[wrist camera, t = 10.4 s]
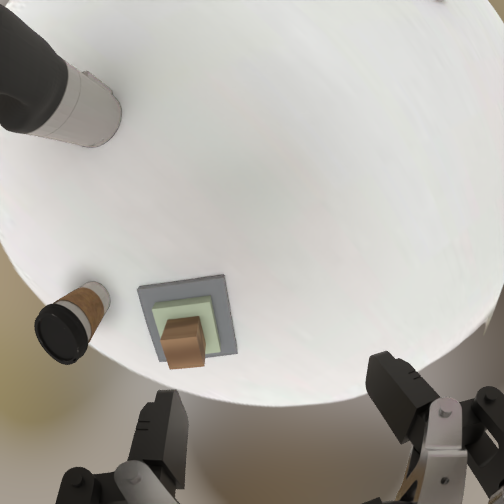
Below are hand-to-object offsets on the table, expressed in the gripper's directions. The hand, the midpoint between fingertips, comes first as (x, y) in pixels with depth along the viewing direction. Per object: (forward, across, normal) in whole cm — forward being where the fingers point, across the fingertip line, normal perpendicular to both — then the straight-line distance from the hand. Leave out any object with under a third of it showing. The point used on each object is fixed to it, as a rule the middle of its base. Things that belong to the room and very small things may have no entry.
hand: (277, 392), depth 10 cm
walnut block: (+29, +10, +13) cm, 33 cm away
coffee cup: (+33, +26, +7) cm, 42 cm away
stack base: (+33, +10, +13) cm, 36 cm away
